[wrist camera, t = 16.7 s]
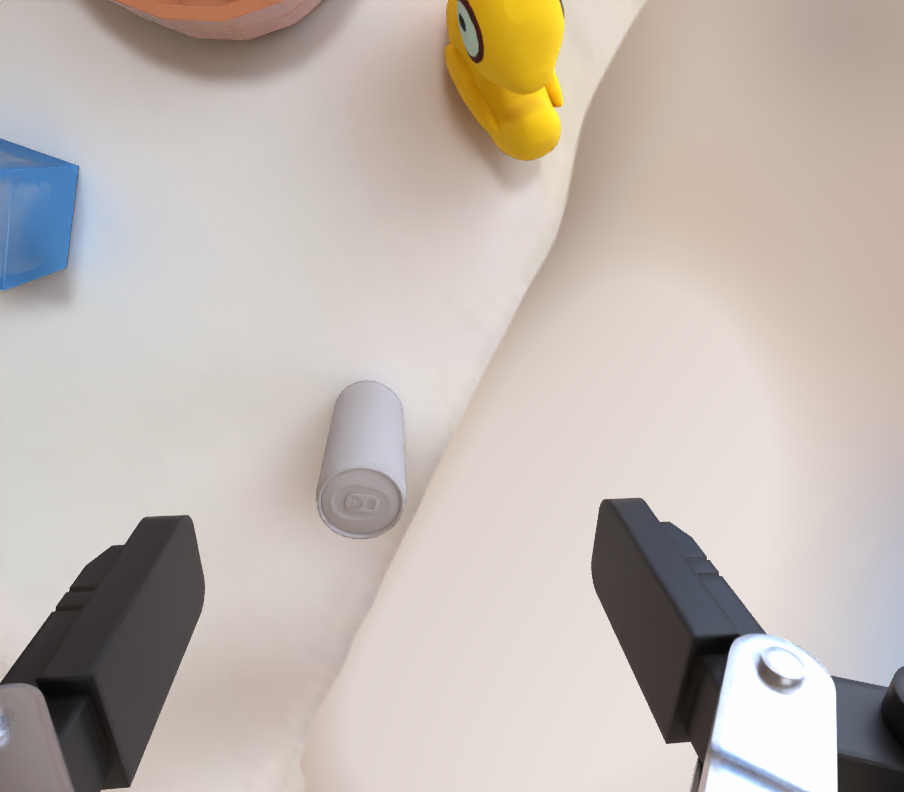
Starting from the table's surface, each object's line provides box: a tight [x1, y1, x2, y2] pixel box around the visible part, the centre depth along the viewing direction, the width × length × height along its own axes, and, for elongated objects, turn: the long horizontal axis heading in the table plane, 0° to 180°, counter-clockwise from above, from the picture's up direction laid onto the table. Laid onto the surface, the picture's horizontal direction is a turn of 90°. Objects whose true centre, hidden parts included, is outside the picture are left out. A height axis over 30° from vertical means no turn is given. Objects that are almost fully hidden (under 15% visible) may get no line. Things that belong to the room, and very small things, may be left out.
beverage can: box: [316, 381, 406, 539], centre depth 35 cm, size 5×5×12 cm
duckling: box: [445, 0, 564, 161], centre depth 28 cm, size 11×5×10 cm, turn 23°
